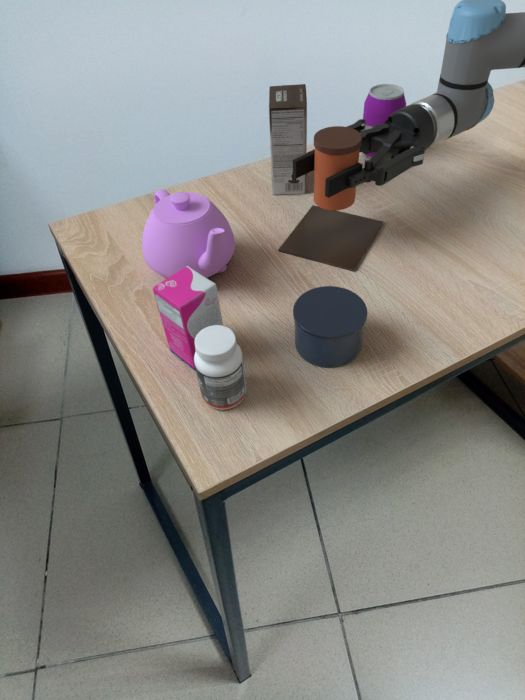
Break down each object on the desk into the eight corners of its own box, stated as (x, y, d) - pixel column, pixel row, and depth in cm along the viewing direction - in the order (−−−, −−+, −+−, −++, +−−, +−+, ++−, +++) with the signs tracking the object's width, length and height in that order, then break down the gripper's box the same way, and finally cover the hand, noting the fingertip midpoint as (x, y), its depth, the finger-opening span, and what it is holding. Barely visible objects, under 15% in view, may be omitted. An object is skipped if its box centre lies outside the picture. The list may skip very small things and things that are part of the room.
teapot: (268, 282, 81) (265, 211, 72) (188, 322, 76) (173, 252, 66) (201, 223, 92) (190, 156, 83) (127, 255, 87) (107, 187, 78)
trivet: (383, 223, 90) (383, 221, 89) (354, 271, 81) (354, 269, 81) (312, 206, 94) (312, 205, 94) (278, 251, 86) (278, 249, 86)
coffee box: (271, 170, 103) (268, 84, 92) (304, 169, 103) (305, 82, 91) (271, 195, 97) (268, 107, 85) (306, 194, 97) (308, 105, 85)
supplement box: (200, 327, 75) (188, 263, 66) (228, 349, 72) (219, 284, 63) (167, 350, 72) (150, 286, 64) (195, 373, 69) (181, 308, 61)
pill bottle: (204, 375, 69) (193, 321, 61) (247, 375, 68) (241, 320, 61) (199, 411, 65) (186, 358, 58) (245, 411, 65) (238, 357, 57)
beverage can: (390, 165, 102) (399, 102, 94) (353, 157, 105) (358, 95, 96) (404, 148, 107) (414, 86, 98) (368, 140, 110) (374, 79, 101)
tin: (372, 330, 73) (377, 297, 68) (348, 378, 67) (351, 346, 63) (310, 310, 76) (310, 278, 72) (281, 355, 71) (280, 323, 66)
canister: (362, 192, 83) (368, 130, 76) (346, 215, 79) (351, 152, 72) (322, 184, 86) (324, 123, 78) (305, 205, 82) (306, 143, 74)
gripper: (461, 171, 83) (355, 229, 74) (371, 130, 94) (269, 176, 85) (473, 124, 77) (360, 181, 68) (376, 86, 88) (267, 130, 79)
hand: (310, 178), depth 77 cm, fingers closed on canister, 6 cm apart
